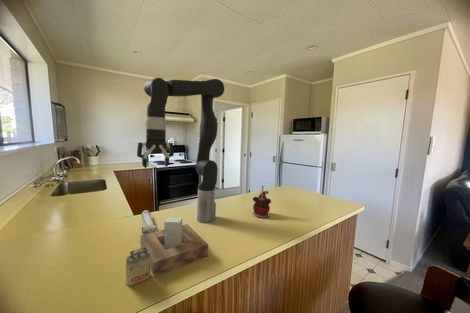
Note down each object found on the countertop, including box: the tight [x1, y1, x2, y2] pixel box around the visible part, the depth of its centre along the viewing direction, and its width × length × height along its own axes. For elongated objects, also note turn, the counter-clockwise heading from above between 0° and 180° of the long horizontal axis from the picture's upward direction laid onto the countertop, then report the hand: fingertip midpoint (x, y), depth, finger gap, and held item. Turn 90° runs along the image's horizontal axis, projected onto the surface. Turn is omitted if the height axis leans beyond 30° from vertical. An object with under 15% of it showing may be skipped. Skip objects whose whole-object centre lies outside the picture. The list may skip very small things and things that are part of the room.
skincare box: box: [163, 217, 183, 250], centre depth 77 cm, size 6×4×12 cm
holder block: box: [140, 223, 209, 278], centre depth 77 cm, size 20×20×5 cm
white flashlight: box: [141, 209, 158, 235], centre depth 96 cm, size 5×7×25 cm
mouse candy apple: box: [252, 185, 272, 218], centre depth 117 cm, size 11×9×18 cm
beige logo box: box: [125, 246, 152, 286], centre depth 62 cm, size 7×4×10 cm, turn 130°
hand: (156, 166), depth 83 cm, fingers open, 8 cm apart
